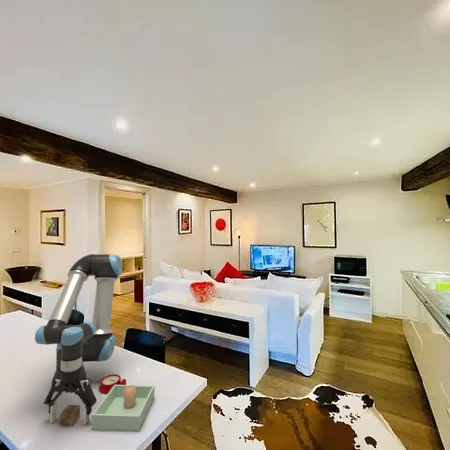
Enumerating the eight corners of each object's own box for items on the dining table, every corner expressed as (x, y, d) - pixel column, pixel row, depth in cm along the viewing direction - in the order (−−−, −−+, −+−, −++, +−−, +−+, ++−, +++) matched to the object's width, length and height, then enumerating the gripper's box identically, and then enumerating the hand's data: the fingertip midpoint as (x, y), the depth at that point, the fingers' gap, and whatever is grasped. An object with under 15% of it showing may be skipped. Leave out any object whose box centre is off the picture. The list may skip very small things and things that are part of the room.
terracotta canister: (121, 408, 111) (122, 392, 111) (126, 401, 116) (126, 385, 116) (133, 409, 110) (133, 392, 111) (137, 401, 115) (137, 385, 116)
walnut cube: (59, 426, 101) (60, 413, 101) (68, 417, 106) (68, 404, 106) (72, 426, 101) (72, 413, 101) (79, 417, 106) (80, 405, 106)
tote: (91, 429, 100) (91, 415, 100) (114, 397, 119) (114, 384, 119) (138, 431, 99) (139, 416, 99) (154, 398, 119) (154, 385, 119)
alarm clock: (110, 371, 134) (131, 372, 127) (112, 384, 133) (133, 385, 127) (92, 382, 125) (113, 383, 118) (94, 395, 124) (115, 398, 117)
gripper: (34, 372, 101) (32, 427, 100) (97, 373, 100) (95, 429, 99) (47, 362, 108) (46, 414, 108) (106, 364, 107) (105, 416, 107)
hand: (69, 421), depth 103 cm, fingers open, 13 cm apart
